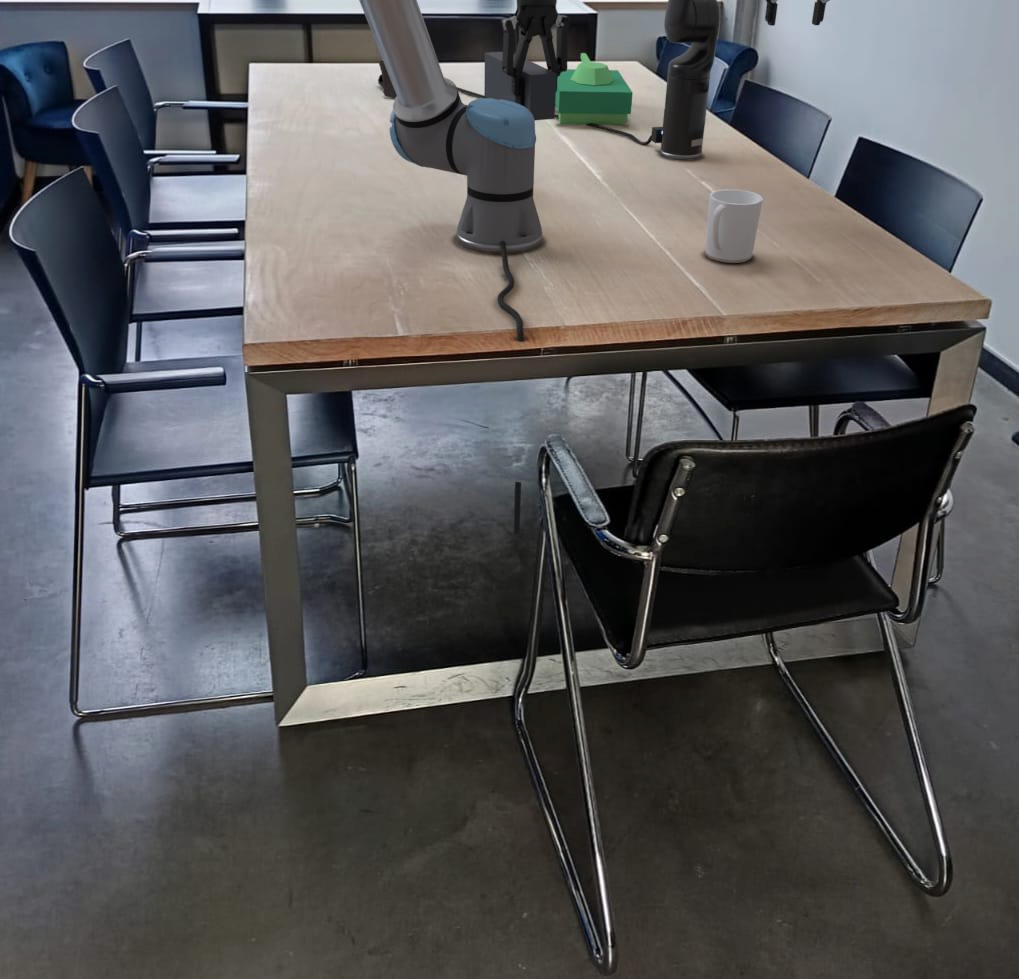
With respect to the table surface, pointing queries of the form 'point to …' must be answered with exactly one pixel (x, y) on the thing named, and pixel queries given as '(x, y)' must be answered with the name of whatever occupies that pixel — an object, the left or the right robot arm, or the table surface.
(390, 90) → the axe head
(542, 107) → the bar
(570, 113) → the toy tank
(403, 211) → the table surface
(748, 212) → the mug
